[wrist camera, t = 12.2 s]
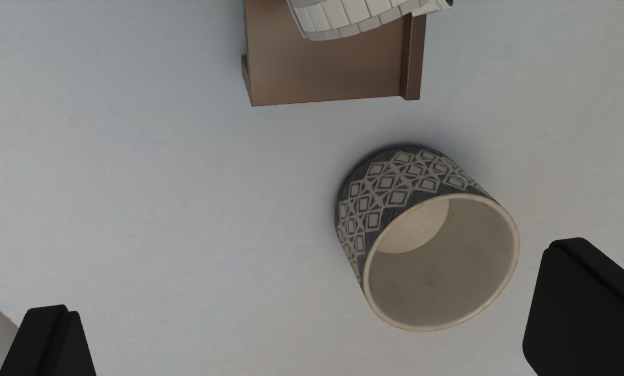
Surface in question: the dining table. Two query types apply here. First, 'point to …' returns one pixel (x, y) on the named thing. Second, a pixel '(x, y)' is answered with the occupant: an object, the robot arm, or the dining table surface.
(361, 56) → the shelf
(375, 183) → the planter
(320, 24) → the watch
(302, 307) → the dining table surface
